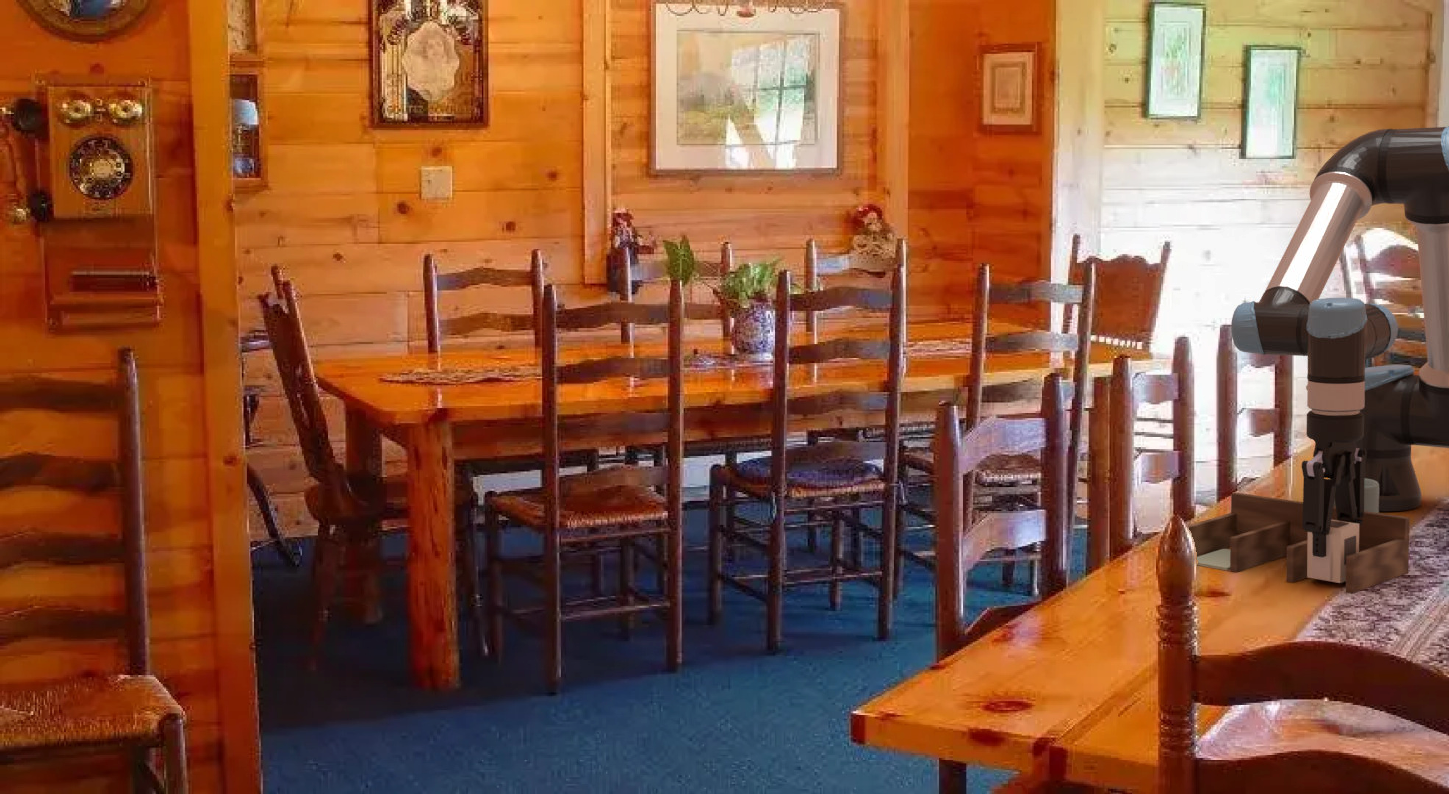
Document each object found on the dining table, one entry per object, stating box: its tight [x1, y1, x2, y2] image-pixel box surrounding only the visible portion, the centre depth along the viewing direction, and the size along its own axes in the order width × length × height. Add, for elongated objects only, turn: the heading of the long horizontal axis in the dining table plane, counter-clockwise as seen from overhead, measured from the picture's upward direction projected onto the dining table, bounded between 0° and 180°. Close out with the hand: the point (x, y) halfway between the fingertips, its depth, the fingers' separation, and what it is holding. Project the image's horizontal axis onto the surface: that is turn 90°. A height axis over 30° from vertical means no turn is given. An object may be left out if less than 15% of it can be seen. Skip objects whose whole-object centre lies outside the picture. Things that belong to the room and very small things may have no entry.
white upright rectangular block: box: [1307, 520, 1359, 584], centre depth 245 cm, size 5×5×8 cm
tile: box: [1197, 548, 1230, 571], centre depth 260 cm, size 10×7×1 cm
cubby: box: [1187, 492, 1411, 594], centre depth 254 cm, size 16×28×8 cm, turn 42°
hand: (1333, 574), depth 246 cm, fingers closed on white upright rectangular block, 5 cm apart
